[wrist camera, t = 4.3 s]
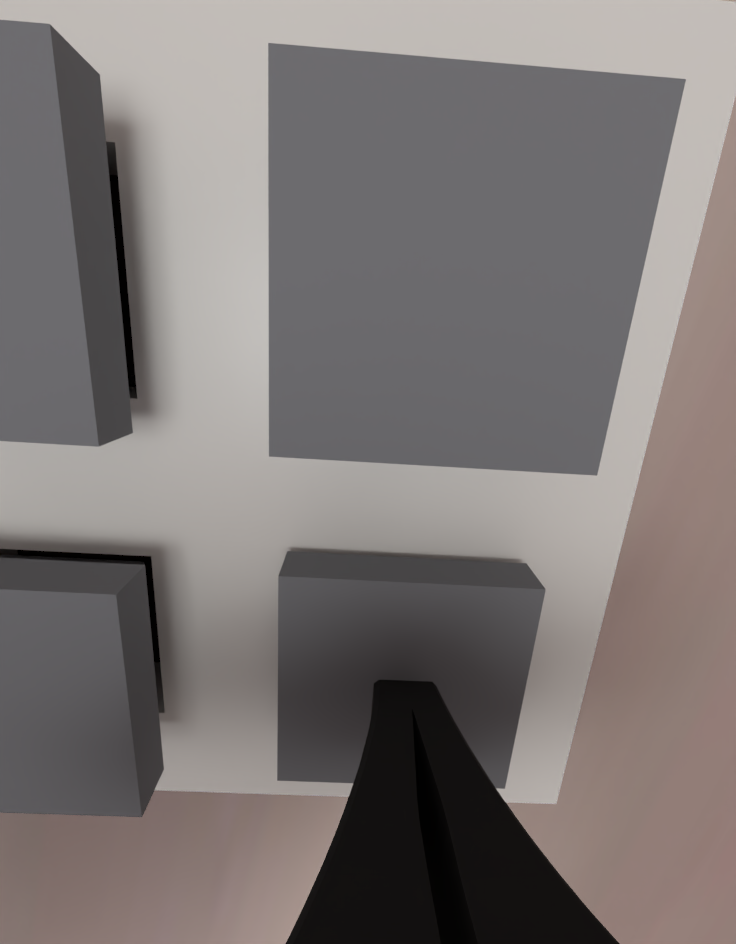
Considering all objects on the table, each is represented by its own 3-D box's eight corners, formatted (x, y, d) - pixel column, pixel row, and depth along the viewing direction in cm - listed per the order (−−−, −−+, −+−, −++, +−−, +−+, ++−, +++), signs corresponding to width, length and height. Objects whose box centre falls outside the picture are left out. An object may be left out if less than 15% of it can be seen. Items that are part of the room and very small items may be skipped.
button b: (294, 689, 14) (277, 780, 11) (298, 520, 13) (278, 576, 10) (475, 696, 15) (504, 788, 12) (503, 531, 13) (545, 589, 10)
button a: (-11, 702, 13) (-121, 808, 10) (-54, 517, 11) (-200, 579, 8) (191, 710, 13) (141, 817, 10) (179, 529, 12) (115, 594, 9)
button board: (-39, 725, 15) (-97, 781, 13) (-228, -12, 9) (-380, -102, 7) (532, 747, 16) (556, 803, 14) (682, 68, 10) (758, 3, 8)
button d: (294, 424, 11) (268, 456, 8) (298, 140, 9) (268, 43, 6) (533, 439, 11) (597, 475, 8) (582, 162, 9) (686, 79, 6)
